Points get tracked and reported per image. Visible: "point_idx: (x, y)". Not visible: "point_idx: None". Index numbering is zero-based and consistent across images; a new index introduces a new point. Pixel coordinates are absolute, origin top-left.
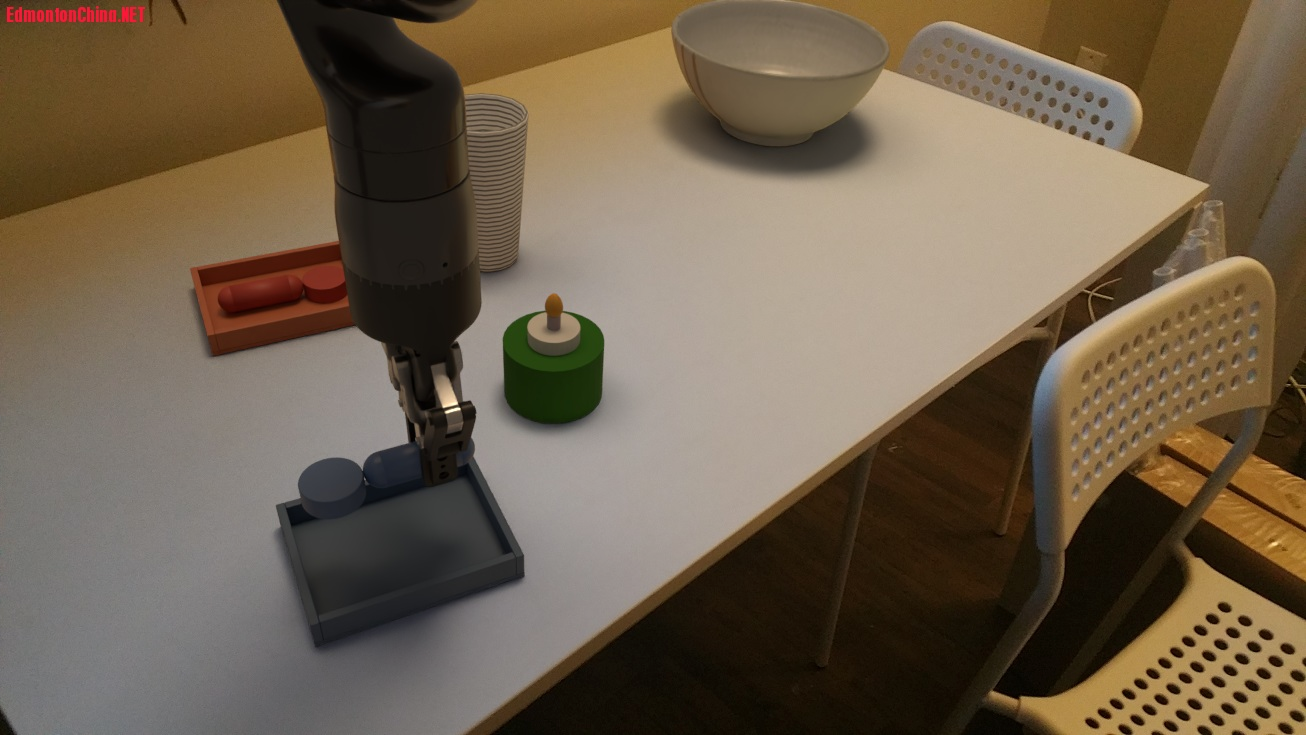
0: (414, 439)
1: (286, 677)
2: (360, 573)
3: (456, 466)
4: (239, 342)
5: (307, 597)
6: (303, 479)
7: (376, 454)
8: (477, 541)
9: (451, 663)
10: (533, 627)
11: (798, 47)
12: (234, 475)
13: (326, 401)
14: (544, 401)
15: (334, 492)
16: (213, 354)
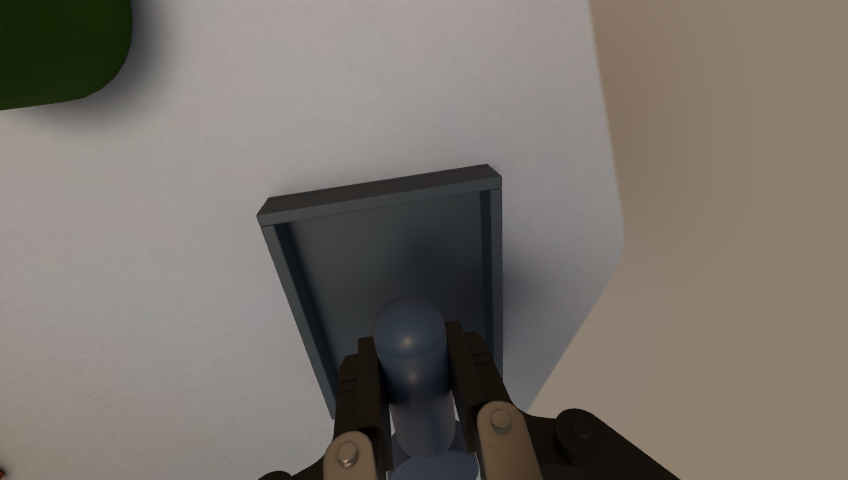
0: (388, 406)
1: (511, 374)
2: None
3: (464, 337)
4: None
5: None
6: None
7: (424, 458)
8: (419, 214)
9: (562, 258)
10: (562, 170)
11: None
12: (248, 429)
13: (96, 364)
14: (89, 32)
15: (462, 473)
16: (2, 475)
